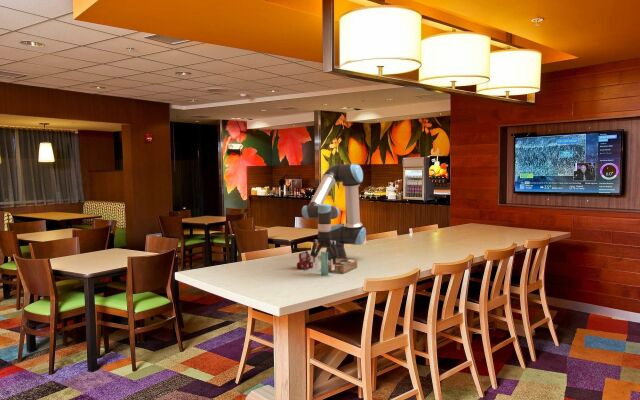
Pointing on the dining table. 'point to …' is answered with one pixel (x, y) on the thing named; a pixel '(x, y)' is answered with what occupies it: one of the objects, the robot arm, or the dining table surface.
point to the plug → (324, 263)
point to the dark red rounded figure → (304, 261)
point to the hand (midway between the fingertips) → (324, 269)
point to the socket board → (343, 266)
